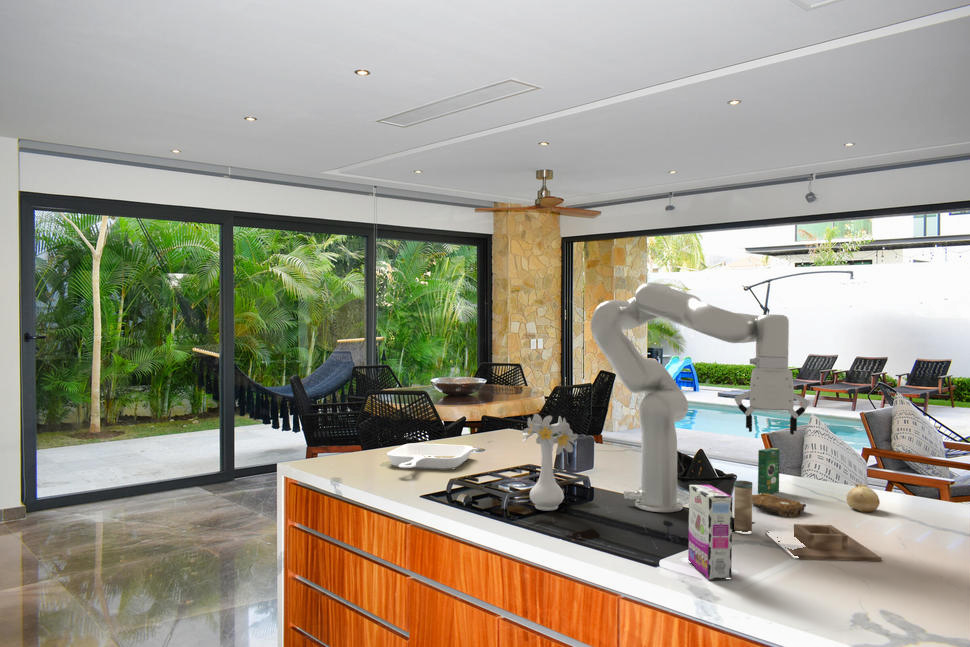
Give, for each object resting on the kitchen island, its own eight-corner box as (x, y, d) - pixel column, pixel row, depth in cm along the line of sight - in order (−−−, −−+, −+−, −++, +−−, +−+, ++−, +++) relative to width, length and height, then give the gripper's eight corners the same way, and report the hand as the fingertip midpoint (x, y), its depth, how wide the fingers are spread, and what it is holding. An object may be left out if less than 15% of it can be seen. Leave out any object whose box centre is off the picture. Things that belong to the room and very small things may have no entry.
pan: (476, 458, 263) (476, 445, 263) (444, 482, 222) (444, 467, 222) (408, 454, 269) (408, 442, 269) (364, 477, 228) (364, 463, 228)
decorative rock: (737, 510, 192) (790, 524, 181) (737, 495, 192) (790, 508, 180) (759, 501, 199) (811, 514, 188) (759, 487, 199) (811, 499, 188)
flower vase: (554, 519, 179) (555, 421, 179) (509, 504, 193) (509, 414, 193) (590, 511, 186) (591, 417, 186) (544, 498, 201) (545, 410, 201)
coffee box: (770, 489, 213) (771, 446, 213) (780, 491, 211) (780, 448, 211) (756, 493, 208) (757, 449, 208) (766, 495, 206) (766, 451, 206)
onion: (883, 510, 191) (883, 484, 191) (875, 516, 185) (875, 489, 185) (851, 505, 196) (851, 479, 196) (842, 510, 190) (842, 484, 190)
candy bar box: (733, 580, 137) (734, 496, 137) (708, 581, 136) (709, 496, 136) (710, 561, 148) (710, 483, 148) (687, 561, 147) (687, 483, 147)
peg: (736, 534, 167) (737, 484, 167) (731, 529, 171) (732, 480, 171) (754, 534, 167) (754, 484, 167) (749, 529, 171) (749, 480, 171)
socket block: (793, 558, 150) (794, 540, 150) (765, 533, 168) (765, 517, 168) (881, 561, 149) (881, 543, 149) (843, 535, 167) (843, 519, 167)
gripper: (735, 363, 174) (734, 432, 174) (811, 365, 169) (810, 437, 169) (735, 362, 181) (734, 428, 181) (808, 364, 176) (807, 432, 176)
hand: (770, 432), depth 175 cm, fingers open, 9 cm apart
